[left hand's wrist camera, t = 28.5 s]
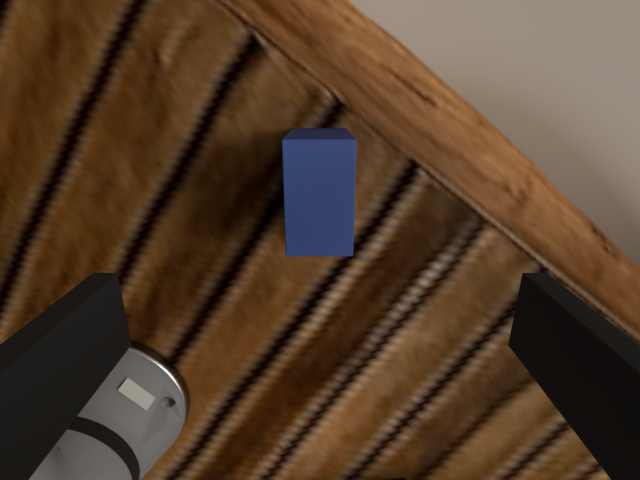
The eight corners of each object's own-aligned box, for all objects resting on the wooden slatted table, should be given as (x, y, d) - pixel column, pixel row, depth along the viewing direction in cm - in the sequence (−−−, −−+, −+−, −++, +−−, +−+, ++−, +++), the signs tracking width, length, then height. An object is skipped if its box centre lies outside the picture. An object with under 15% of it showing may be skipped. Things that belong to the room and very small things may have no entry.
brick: (346, 128, 33) (356, 139, 24) (344, 217, 36) (353, 256, 27) (291, 128, 33) (281, 139, 24) (294, 217, 36) (285, 256, 27)
